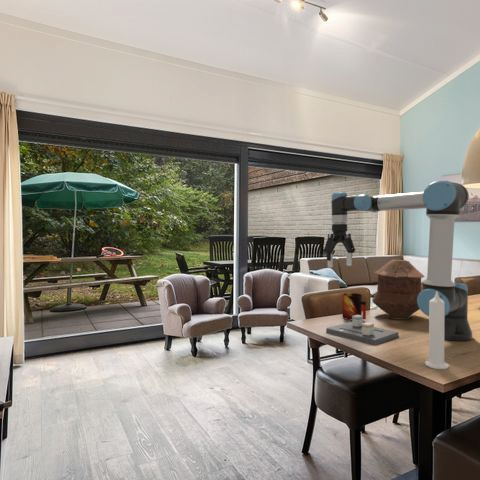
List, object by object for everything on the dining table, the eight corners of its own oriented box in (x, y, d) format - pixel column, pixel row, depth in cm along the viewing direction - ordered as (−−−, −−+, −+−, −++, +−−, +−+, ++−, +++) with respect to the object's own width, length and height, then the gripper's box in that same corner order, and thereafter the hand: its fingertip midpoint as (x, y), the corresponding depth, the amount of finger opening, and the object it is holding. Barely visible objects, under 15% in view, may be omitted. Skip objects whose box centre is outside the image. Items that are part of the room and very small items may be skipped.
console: (398, 336, 161) (398, 331, 161) (374, 344, 150) (374, 339, 150) (350, 326, 180) (350, 321, 180) (326, 332, 169) (326, 327, 169)
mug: (365, 321, 188) (365, 297, 188) (339, 317, 197) (339, 294, 197) (372, 318, 195) (372, 295, 195) (347, 314, 204) (347, 292, 204)
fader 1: (363, 325, 172) (363, 315, 172) (357, 326, 169) (357, 317, 169) (357, 324, 174) (357, 314, 174) (352, 325, 172) (352, 315, 172)
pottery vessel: (363, 316, 199) (363, 259, 198) (387, 309, 216) (387, 257, 215) (412, 325, 180) (412, 262, 179) (434, 317, 197) (434, 259, 196)
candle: (440, 361, 130) (441, 289, 130) (453, 369, 123) (453, 292, 123) (420, 362, 130) (421, 289, 130) (431, 369, 123) (432, 293, 122)
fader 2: (373, 333, 158) (373, 323, 158) (368, 335, 155) (368, 325, 155) (367, 332, 160) (367, 322, 160) (361, 334, 157) (361, 323, 157)
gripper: (350, 224, 198) (350, 264, 198) (315, 223, 184) (316, 267, 185) (362, 223, 192) (362, 265, 192) (327, 223, 178) (327, 268, 179)
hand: (339, 266), depth 188 cm, fingers open, 13 cm apart
